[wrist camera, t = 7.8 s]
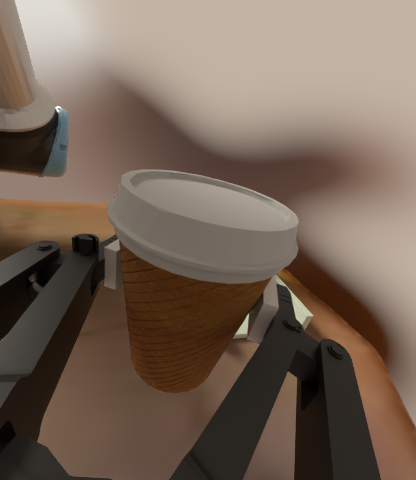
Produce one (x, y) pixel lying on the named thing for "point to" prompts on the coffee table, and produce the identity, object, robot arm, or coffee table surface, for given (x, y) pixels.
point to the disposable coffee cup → (193, 267)
